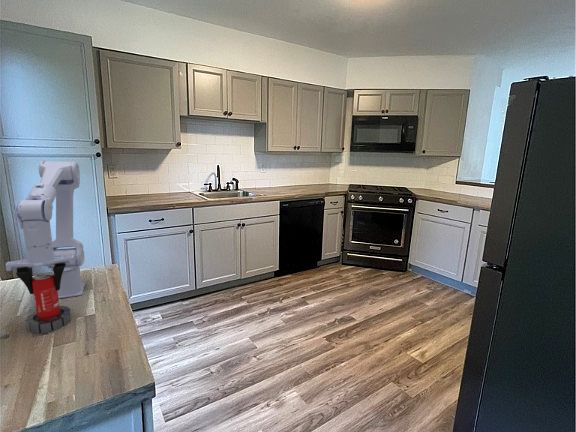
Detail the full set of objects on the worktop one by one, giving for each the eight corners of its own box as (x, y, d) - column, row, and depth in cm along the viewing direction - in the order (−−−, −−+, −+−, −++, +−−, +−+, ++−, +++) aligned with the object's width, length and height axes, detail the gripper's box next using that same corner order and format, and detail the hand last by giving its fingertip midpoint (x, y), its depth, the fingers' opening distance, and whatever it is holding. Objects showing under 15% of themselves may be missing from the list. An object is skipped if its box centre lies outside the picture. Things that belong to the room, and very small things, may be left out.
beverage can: (48, 321, 86) (42, 280, 83) (32, 319, 87) (25, 278, 84) (65, 312, 91) (59, 273, 88) (50, 310, 92) (44, 271, 89)
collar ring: (31, 317, 91) (30, 309, 91) (73, 310, 96) (72, 303, 96) (22, 336, 83) (21, 328, 82) (68, 327, 87) (67, 319, 87)
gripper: (-2, 251, 77) (7, 302, 80) (69, 245, 84) (75, 292, 87) (7, 243, 84) (15, 290, 87) (73, 238, 90) (77, 282, 93)
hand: (45, 290), depth 87 cm, fingers closed on beverage can, 5 cm apart
